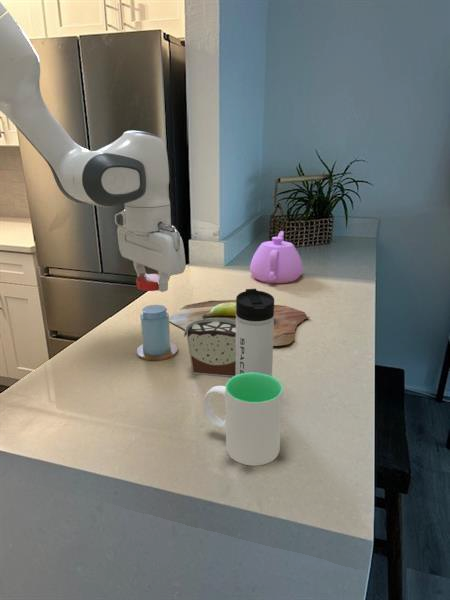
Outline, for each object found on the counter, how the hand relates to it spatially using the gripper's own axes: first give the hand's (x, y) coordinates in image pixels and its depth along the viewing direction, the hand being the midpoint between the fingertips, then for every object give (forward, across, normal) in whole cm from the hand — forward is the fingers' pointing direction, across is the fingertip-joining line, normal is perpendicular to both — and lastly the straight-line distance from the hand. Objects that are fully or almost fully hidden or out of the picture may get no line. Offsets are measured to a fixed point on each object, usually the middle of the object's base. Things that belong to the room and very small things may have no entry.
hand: (152, 286), depth 90 cm
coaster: (+15, 0, 0) cm, 15 cm away
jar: (+15, 0, 0) cm, 15 cm away
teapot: (+15, +22, -62) cm, 67 cm away
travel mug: (+15, -28, -2) cm, 32 cm away
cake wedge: (+15, -15, -6) cm, 22 cm away
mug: (+15, -35, +7) cm, 39 cm away
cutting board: (+15, +1, -25) cm, 30 cm away
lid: (-1, 0, 0) cm, 1 cm away
